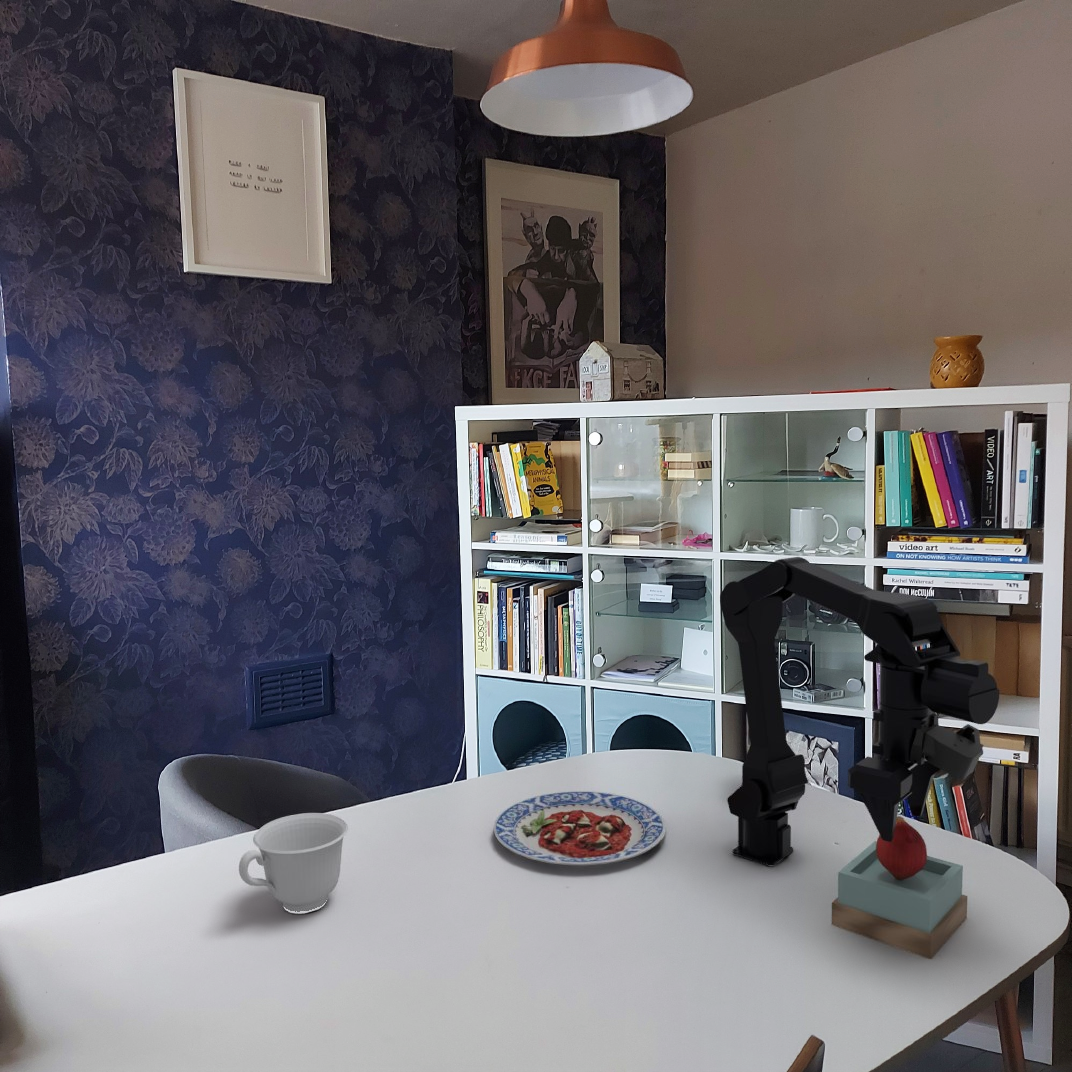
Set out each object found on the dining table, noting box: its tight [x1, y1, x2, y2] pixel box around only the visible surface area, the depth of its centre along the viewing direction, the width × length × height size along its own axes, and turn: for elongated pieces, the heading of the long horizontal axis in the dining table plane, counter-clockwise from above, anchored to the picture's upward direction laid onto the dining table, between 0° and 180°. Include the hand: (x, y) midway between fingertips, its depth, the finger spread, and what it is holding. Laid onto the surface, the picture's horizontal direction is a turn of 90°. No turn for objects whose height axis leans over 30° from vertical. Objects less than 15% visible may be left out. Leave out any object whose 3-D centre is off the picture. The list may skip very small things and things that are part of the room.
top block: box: [837, 840, 964, 933], centre depth 117 cm, size 11×11×4 cm
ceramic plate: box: [493, 790, 667, 866], centre depth 144 cm, size 26×26×3 cm
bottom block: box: [831, 894, 968, 960], centre depth 118 cm, size 12×12×4 cm
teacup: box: [238, 812, 349, 912], centre depth 124 cm, size 12×15×10 cm
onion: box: [876, 815, 928, 880], centre depth 117 cm, size 6×6×8 cm
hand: (902, 828), depth 117 cm, fingers open, 9 cm apart
